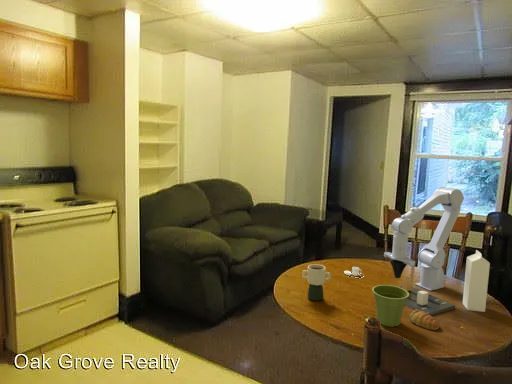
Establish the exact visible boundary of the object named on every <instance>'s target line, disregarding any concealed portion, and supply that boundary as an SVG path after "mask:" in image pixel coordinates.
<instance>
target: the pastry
mask: <svg viewBox="0 0 512 384" xmlns="http://www.w3.org/2000/svg"><path fill="white" fill-rule="evenodd" d="M408 319H409V320H410V322H411V323H412V324H415V325H416V326H419V327H422V328H424V329H427V330H433V331H436V330H438V329H439V328H440V327H441V324H440V322H439V321H438V320H437V319H436V318H434V316H433V315H431V316H430V315H429V314H428V313H425V312H424V311H422V312H421V311H419V310H417V309H416V310H415V309H413V311H412V312H411V313H410V315H409V317H408Z"/></svg>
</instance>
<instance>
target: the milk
mask: <svg viewBox="0 0 512 384" xmlns="http://www.w3.org/2000/svg"><path fill="white" fill-rule="evenodd" d="M490 265H491V263H490V262H489V261H488V260H487V259H485V258H484V257H483V255H482V253H481V252H480V251H479V250H477V249H476V250H475V253H474V254H471V255H468V256H466V263H465V272H464V273H465V274H464V284H463V294H462V295H463V296H462V304H463V306H464V308H465V309H466V310H467V311H473V312H481V313H482V312H484V313H485V312H486V306H487V305H486V304H487V295H488V285H489V276H490Z"/></svg>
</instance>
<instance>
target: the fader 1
mask: <svg viewBox="0 0 512 384" xmlns="http://www.w3.org/2000/svg"><path fill="white" fill-rule="evenodd" d="M401 284H402V285H401V286H402V289H404V290H406V291H410V290H412V287H413V279H412V278H410V277H405V278H402V283H401Z"/></svg>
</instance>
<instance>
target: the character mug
mask: <svg viewBox="0 0 512 384" xmlns="http://www.w3.org/2000/svg"><path fill="white" fill-rule="evenodd" d="M326 270H327V269H326V266H325V265H322V264H316V263H315V264H314V263H313V264H309V265H308V266H307V270H306V269H303V270H302V274H301V275H302V278H303V279H306V280H307V283H308V284H309V285H308V290H307V298H308V299H310V300H313V301H321V300H323V299H324V297H325V296H324V286H323V285H324V284H325V282H326V281H330V280H331V272H328V271H326ZM306 274H307V275H306ZM326 275H327V277H326Z"/></svg>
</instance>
